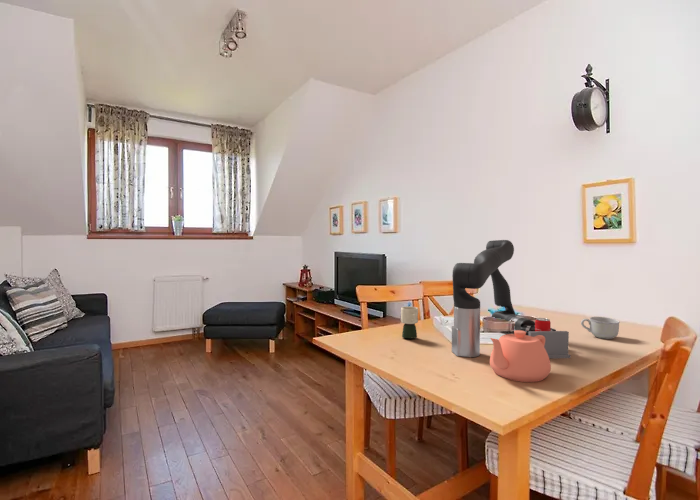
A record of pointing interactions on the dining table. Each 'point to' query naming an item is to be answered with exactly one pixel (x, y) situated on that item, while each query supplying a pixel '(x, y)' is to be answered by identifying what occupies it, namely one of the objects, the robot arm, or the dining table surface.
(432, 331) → the dining table surface
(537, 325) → the beverage can
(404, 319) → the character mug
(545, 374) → the teapot
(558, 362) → the dining table surface
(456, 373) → the dining table surface
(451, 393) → the dining table surface
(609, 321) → the teacup
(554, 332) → the screen
